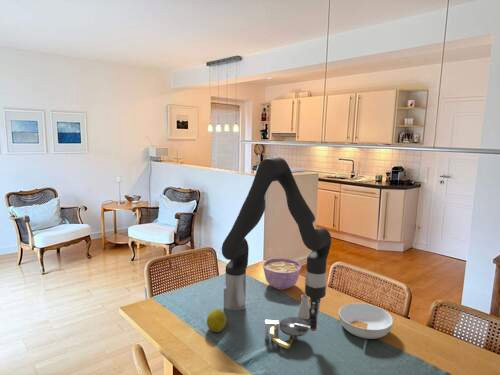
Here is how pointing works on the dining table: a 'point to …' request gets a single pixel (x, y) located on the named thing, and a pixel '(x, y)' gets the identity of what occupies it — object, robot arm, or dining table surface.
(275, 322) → the grey arch-shaped block
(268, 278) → the bowl of food
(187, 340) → the dining table surface
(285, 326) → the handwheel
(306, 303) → the flask
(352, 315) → the serving bowl
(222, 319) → the lemon
